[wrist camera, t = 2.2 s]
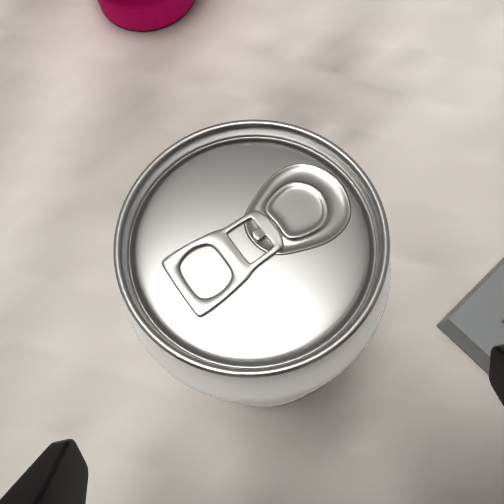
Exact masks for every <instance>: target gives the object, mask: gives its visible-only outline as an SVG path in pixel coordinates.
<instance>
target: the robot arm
mask: <svg viewBox="0 0 504 504" xmlns="http://www.w3.org/2000/svg"><path fill="white" fill-rule="evenodd" d="M489 380H490V383H491V385H492V387H493V389H494V391H495V392H496V394H497V396H498V397H499V399H500V401H501V402H502V404H503V406H504V344H500V345H495V346H493V347H492V349H491V352H490V365H489ZM87 483H88V468H87V464H86V462H85V460H84V458H83V456H82V454H81V452H80V450H79V448H78V446H77V444H76V443H75V441H74V440H72V439H66V440H61V441H57V442H54V443H52V444H50V445H49V446H48V447H47V448H46V450H45V451H44V452H43V453H42V454H41V455H40V456H39V457H38V458H37V460H36V461H35V462H34V463H33V464H32V465H31V466H30V467H29V468H28V469H27V471H26V472H25V473H24V474H23V475H22V476H21V477H20V478H19V479H18V480H17V482H16V483H15V484H14V485H13V486H12V487H11V488H10V489H9V490H8V492H7V493H6V494H5V495H4V496H3V497H2V498H1V499H0V504H85V503H86V493H87Z"/></svg>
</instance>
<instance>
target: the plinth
mask: <svg viewBox="0 0 504 504" xmlns="http://www.w3.org/2000/svg"><path fill="white" fill-rule="evenodd" d="M437 326H438V327H439V328H440V329H441V330H442V331H443V332H444V333H445V334H446V335H447V336H448V337H449V338H450V339H452V340H453V341H454V342H455V343H456V344H457V345H458V346H459V347H460V348H461V349H462V350H463V351H464V352H465V353H466V354H468V355H469V356H470V357H471V358H472V359H473V360H474V361H475V362H476V363H477V364H478V365H479V366H480V367H481V368H482V369H484V370H485V371H486V372H487V373H488V374H489V365H490V352H491V349H492V347H493V346H495V345H500V344H504V258H503V259H502V260H501V261H500V262H499V263H498V264H497V265H496V266H495V267H494V268H493V269H492V270H491V271H490V272H489V273H488V274H487V275H486V276H485V277H484V278H483V279H482V280H481V281H480V282H479V283H478V284H477V285H476V286H475V287H474V288H473V289H472V290H471V291H470V292H469V293H468V294H467V295H466V296H465V297H464V298H463V299H462V300H461V301H460V302H459V303H458V304H457V305H456V306H455V307H454V308H453V309H452V310H451V311H450V312H449V313H448V314H447V315H446V316H445V318H444V319H443V320H442V321H441V322H440V323H439V324H438V325H437Z"/></svg>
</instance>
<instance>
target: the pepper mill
mask: <svg viewBox="0 0 504 504" xmlns="http://www.w3.org/2000/svg"><path fill="white" fill-rule="evenodd" d="M193 1H194V0H98V2H99V4H100V7H101V9H102V11H103V13H104V14H105V16H106V17H107V18H108V19H109V20H110V21H112V22H113V23H114V24H116V25H118V26H120V27H122V28H125V29H130V30H135V31H150V30H154V29H158V28H162V27H165V26H167V25H169V24H172V23H173V22H175V21H176V20H178V19H179V18H181V17H182V16H183V15H184V14H185V13H186V12H187V11H188V10H189V8H190V7H191V5H192V3H193Z"/></svg>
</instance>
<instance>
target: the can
mask: <svg viewBox="0 0 504 504" xmlns="http://www.w3.org/2000/svg"><path fill="white" fill-rule="evenodd" d="M114 266H115V273H116V278H117V282H118V285H119V289H120V292H121V294H122V298H123V303H124V307H125V310H126V313H127V316H128V319H129V321H130V324H131V326H132V328H133V330H134V332H135V334H136V336H137V337H138V339H139V341H140V342H141V344H142V345H143V346H144V348H145V349H146V350H147V352H148V353H149V354H150V355H151V356H152V358H153V359H154V360H155V361H156V362H157V363H158V364H159V365H160V366H161V367H162V368H163V369H165V370H166V371H167V372H168V373H169V374H171V375H172V376H173V377H175V378H176V379H177V380H179V381H180V382H182V383H184V384H185V385H187V386H189V387H191V388H193V389H195V390H197V391H199V392H201V393H204V394H206V395H209V396H211V397H214V398H218V399H221V400H225V401H229V402H233V403H238V404H244V405H250V406H261V407H269V406H277V405H282V404H286V403H289V402H292V401H295V400H297V399H299V398H301V397H303V396H305V395H307V394H309V393H311V392H313V391H315V390H316V389H318V388H320V387H321V386H323V385H325V384H326V383H328V382H329V381H331V380H332V379H333V378H335V377H336V376H337V375H339V374H340V373H341V372H342V371H343V370H345V369H346V368H347V367H348V366H349V365H350V364H351V363H352V362H353V361H354V360H355V359H356V358H357V357H358V355H359V354H360V353H361V352H362V351H363V349H364V348H365V347H366V345H367V344H368V342H369V341H370V339H371V337H372V336H373V334H374V332H375V330H376V328H377V326H378V324H379V322H380V320H381V317H382V315H383V312H384V309H385V306H386V303H387V299H388V294H389V288H390V279H391V262H390V237H389V228H388V222H387V218H386V214H385V210H384V207H383V205H382V202H381V199H380V197H379V195H378V193H377V191H376V189H375V187H374V185H373V184H372V182H371V180H370V179H369V177H368V176H367V175H366V173H365V172H364V171H363V169H362V168H361V167H360V166H359V165H358V164H357V163H356V161H355V160H354V159H353V158H352V157H351V156H349V155H348V154H347V153H346V152H345V151H344V150H342V149H341V148H340V147H338V146H337V145H336V144H334V143H333V142H331V141H330V140H328V139H326V138H324V137H323V136H321V135H319V134H317V133H315V132H312V131H310V130H307V129H305V128H302V127H299V126H296V125H292V124H288V123H284V122H278V121H271V120H239V121H232V122H226V123H221V124H217V125H214V126H210V127H207V128H204V129H202V130H199V131H197V132H194V133H192V134H190V135H188V136H186V137H184V138H182V139H181V140H179V141H177V142H176V143H174V144H173V145H171V146H170V147H168V148H167V149H166V150H164V151H163V152H162V153H161V154H160V155H158V156H157V157H156V158H155V159H154V160H153V161H152V162H151V163H150V164H149V165H148V166H147V167H146V168H145V170H144V171H143V172H142V173H141V174H140V176H139V177H138V179H137V180H136V181H135V183H134V184H133V186H132V188H131V189H130V191H129V193H128V195H127V197H126V199H125V201H124V203H123V206H122V209H121V211H120V214H119V217H118V221H117V225H116V230H115V237H114Z"/></svg>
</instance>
